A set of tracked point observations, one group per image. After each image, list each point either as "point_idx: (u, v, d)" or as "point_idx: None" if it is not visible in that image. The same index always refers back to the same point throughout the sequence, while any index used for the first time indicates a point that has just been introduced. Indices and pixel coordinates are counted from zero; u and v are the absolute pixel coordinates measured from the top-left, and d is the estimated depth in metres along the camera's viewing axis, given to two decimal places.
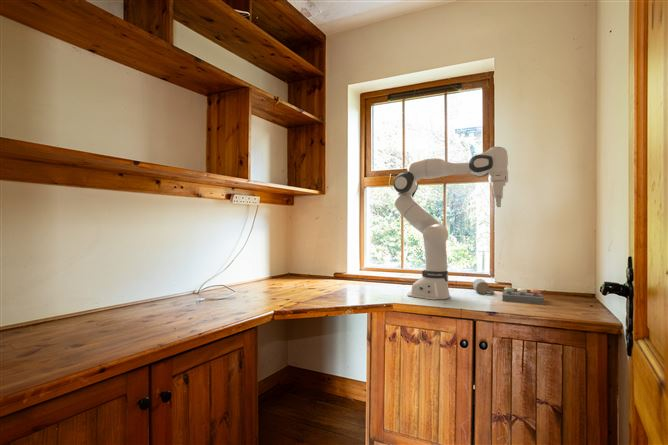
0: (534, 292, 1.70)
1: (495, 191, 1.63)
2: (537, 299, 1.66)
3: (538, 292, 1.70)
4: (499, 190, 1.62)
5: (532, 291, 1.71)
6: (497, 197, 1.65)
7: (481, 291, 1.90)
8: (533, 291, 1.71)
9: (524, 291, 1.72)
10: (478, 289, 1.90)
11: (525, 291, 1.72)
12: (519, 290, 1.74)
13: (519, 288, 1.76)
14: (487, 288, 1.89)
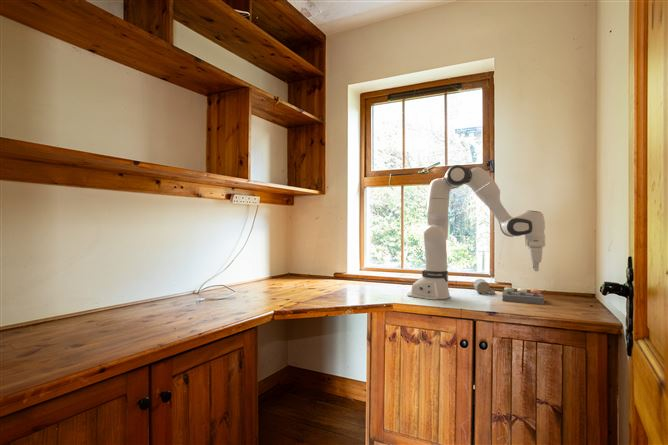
0: (534, 292, 1.70)
1: (534, 258, 1.63)
2: (537, 299, 1.66)
3: (538, 292, 1.70)
4: (538, 257, 1.63)
5: (532, 291, 1.71)
6: (535, 263, 1.66)
7: (482, 291, 1.90)
8: (533, 291, 1.71)
9: (524, 291, 1.72)
10: (479, 289, 1.90)
11: (525, 291, 1.72)
12: (519, 290, 1.74)
13: (519, 288, 1.76)
14: (488, 288, 1.89)
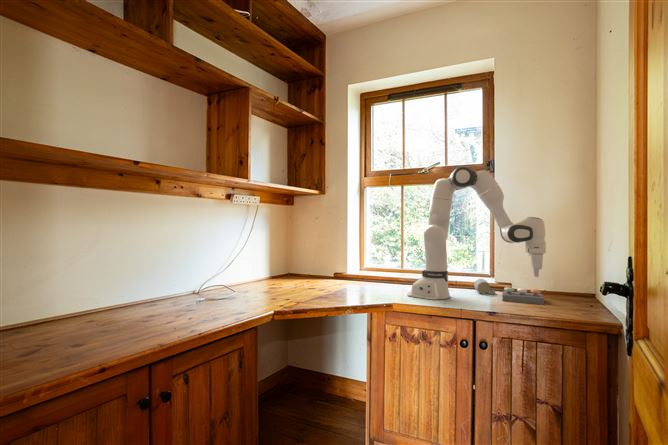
0: (534, 292, 1.70)
1: (534, 265, 1.63)
2: (537, 299, 1.66)
3: (538, 292, 1.70)
4: (539, 264, 1.63)
5: (532, 291, 1.71)
6: (535, 268, 1.70)
7: (482, 291, 1.90)
8: (533, 291, 1.71)
9: (524, 291, 1.72)
10: (479, 289, 1.90)
11: (525, 291, 1.72)
12: (519, 290, 1.74)
13: (519, 288, 1.76)
14: (488, 288, 1.89)
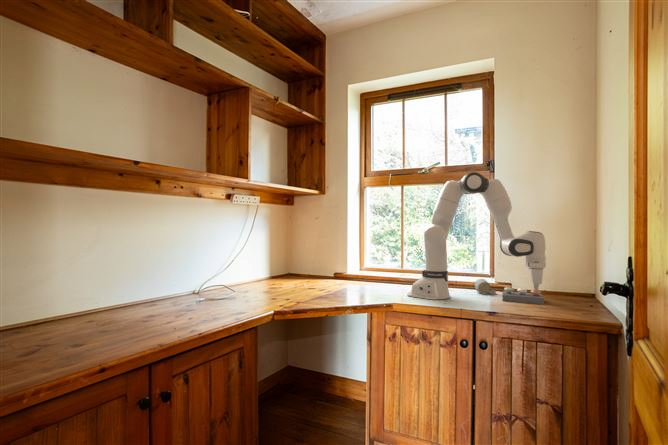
0: (534, 293, 1.70)
1: (534, 279, 1.63)
2: (537, 299, 1.66)
3: (538, 293, 1.70)
4: (538, 279, 1.63)
5: (532, 292, 1.71)
6: None
7: (483, 291, 1.90)
8: (533, 292, 1.71)
9: (524, 291, 1.72)
10: (480, 289, 1.90)
11: (525, 291, 1.72)
12: (519, 290, 1.74)
13: (519, 288, 1.76)
14: (489, 288, 1.89)
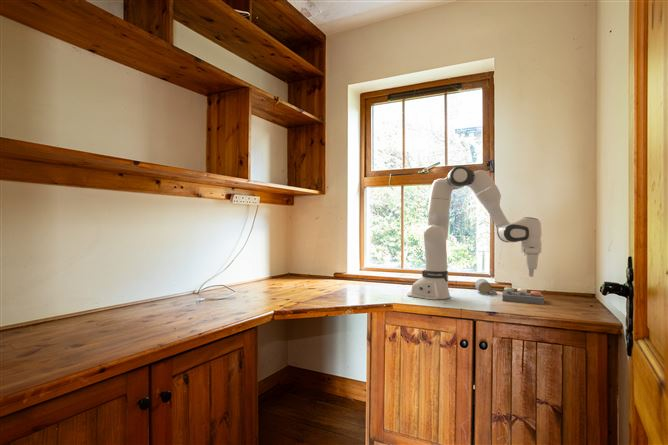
0: (534, 294, 1.70)
1: (529, 264, 1.64)
2: (537, 299, 1.66)
3: (538, 294, 1.70)
4: (534, 264, 1.64)
5: (532, 293, 1.71)
6: (530, 268, 1.71)
7: (483, 291, 1.90)
8: (533, 293, 1.71)
9: (524, 291, 1.72)
10: (480, 289, 1.90)
11: (525, 291, 1.72)
12: (519, 290, 1.74)
13: (519, 288, 1.76)
14: (489, 288, 1.89)
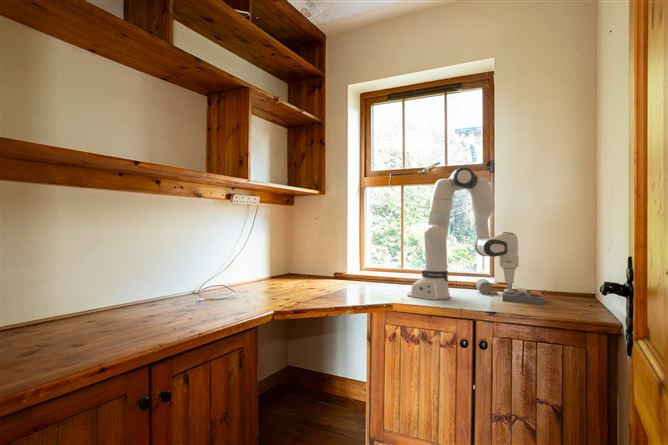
0: (534, 294, 1.70)
1: (506, 279, 1.69)
2: (537, 299, 1.66)
3: (538, 294, 1.70)
4: (510, 278, 1.68)
5: (532, 293, 1.71)
6: None
7: (484, 291, 1.90)
8: (533, 293, 1.71)
9: (524, 291, 1.72)
10: (481, 289, 1.90)
11: (525, 291, 1.72)
12: (519, 290, 1.74)
13: (519, 288, 1.76)
14: (490, 288, 1.89)
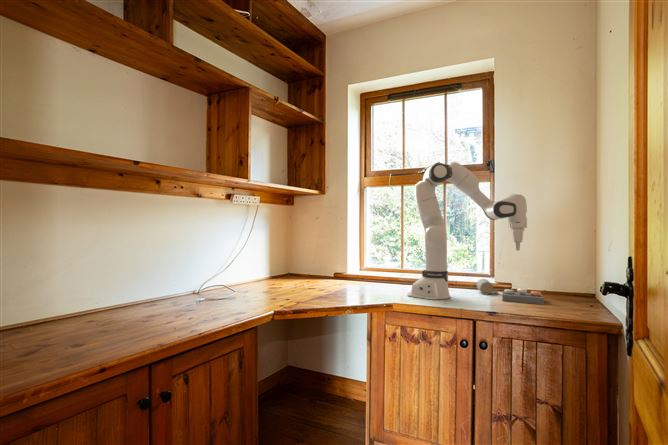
0: (534, 294, 1.70)
1: (515, 238, 1.75)
2: (537, 299, 1.66)
3: (538, 294, 1.70)
4: (519, 237, 1.74)
5: (532, 293, 1.71)
6: (517, 242, 1.81)
7: (485, 291, 1.90)
8: (533, 293, 1.71)
9: (524, 291, 1.72)
10: (482, 289, 1.90)
11: (525, 291, 1.72)
12: (519, 290, 1.74)
13: (519, 288, 1.76)
14: (491, 288, 1.89)
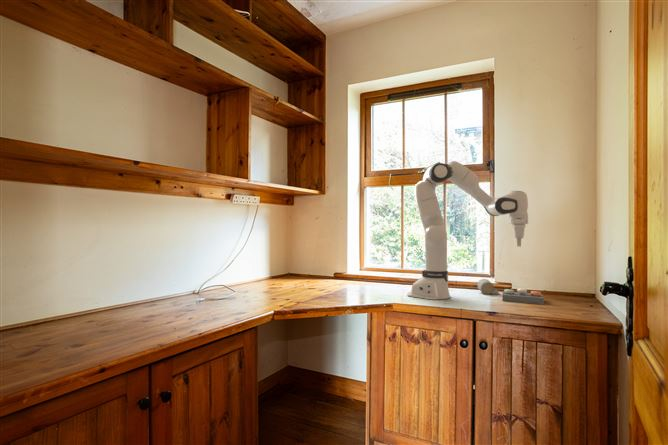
0: (534, 294, 1.70)
1: (517, 234, 1.76)
2: (537, 299, 1.66)
3: (538, 294, 1.70)
4: (520, 233, 1.75)
5: (532, 293, 1.71)
6: (518, 238, 1.82)
7: (486, 291, 1.90)
8: (533, 293, 1.71)
9: (524, 291, 1.72)
10: (483, 289, 1.90)
11: (525, 291, 1.72)
12: (519, 290, 1.74)
13: (519, 288, 1.76)
14: (492, 288, 1.89)
